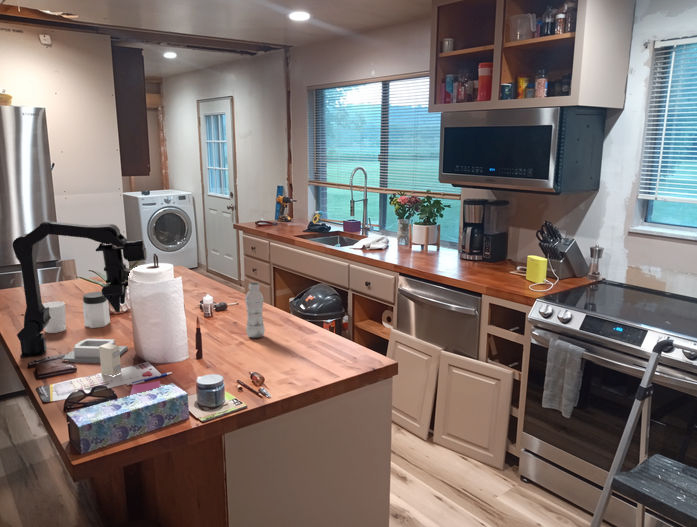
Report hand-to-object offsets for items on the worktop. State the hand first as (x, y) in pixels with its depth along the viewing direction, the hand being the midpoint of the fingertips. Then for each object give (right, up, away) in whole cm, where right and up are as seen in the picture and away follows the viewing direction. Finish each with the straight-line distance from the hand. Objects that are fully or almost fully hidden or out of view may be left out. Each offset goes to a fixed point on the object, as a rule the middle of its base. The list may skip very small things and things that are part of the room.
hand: (120, 307), depth 187 cm
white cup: (-32, -10, +19) cm, 39 cm away
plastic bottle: (+43, -12, +15) cm, 47 cm away
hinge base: (-6, -15, -4) cm, 17 cm away
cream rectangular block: (+5, -19, -18) cm, 26 cm away
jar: (-19, -9, +26) cm, 33 cm away
